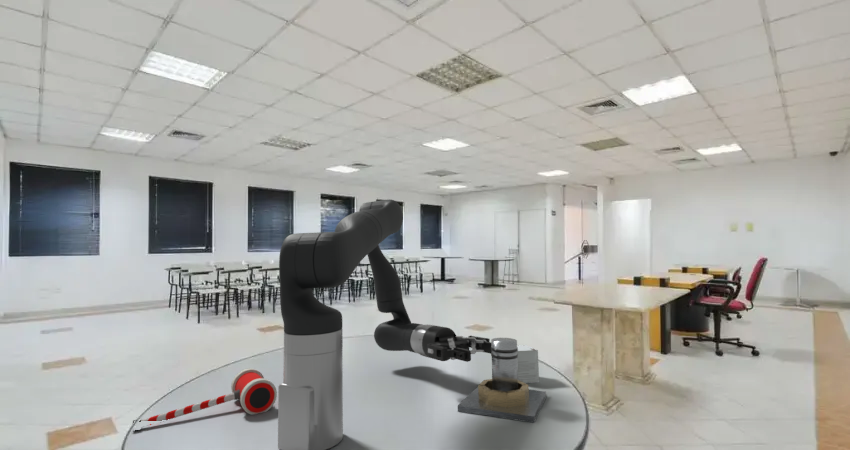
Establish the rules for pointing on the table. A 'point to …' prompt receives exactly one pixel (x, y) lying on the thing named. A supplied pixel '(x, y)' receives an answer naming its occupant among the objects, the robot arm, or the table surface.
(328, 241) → the robot arm
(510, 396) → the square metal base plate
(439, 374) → the table surface
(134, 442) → the table surface
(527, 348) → the skincare box
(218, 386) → the table surface
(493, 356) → the piston
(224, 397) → the toy hammer
